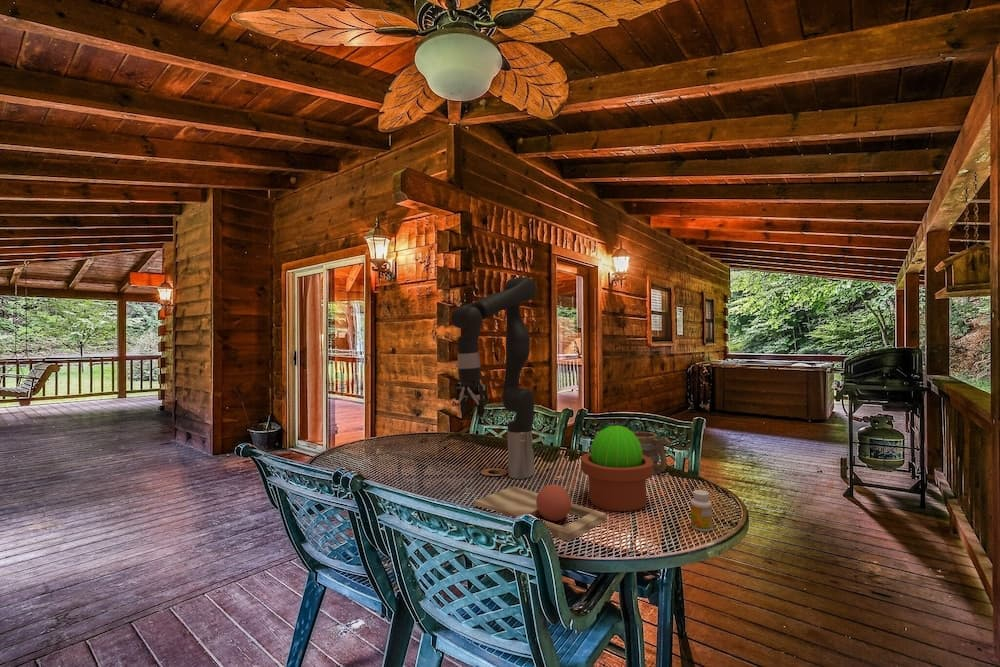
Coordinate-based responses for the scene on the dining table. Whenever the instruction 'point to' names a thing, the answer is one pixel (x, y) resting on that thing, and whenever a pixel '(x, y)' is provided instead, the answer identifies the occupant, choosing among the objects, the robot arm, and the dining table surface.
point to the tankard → (653, 449)
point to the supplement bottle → (701, 511)
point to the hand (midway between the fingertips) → (472, 414)
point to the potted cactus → (617, 470)
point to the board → (525, 503)
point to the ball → (553, 502)
